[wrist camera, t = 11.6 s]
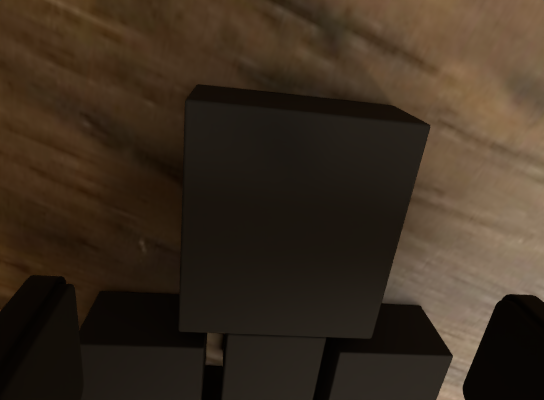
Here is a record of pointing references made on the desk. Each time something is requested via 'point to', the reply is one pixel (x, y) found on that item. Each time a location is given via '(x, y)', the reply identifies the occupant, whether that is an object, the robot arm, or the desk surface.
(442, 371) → the base pad
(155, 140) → the desk surface
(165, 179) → the desk surface
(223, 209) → the black pad
